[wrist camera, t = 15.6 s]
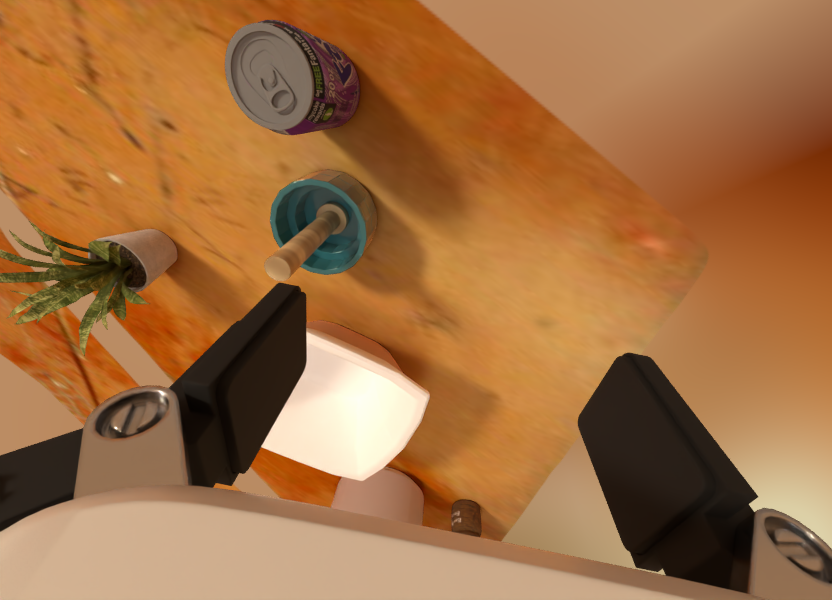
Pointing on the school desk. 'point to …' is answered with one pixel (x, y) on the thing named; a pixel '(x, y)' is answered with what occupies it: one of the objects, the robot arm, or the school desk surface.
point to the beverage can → (290, 78)
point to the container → (382, 496)
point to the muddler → (307, 241)
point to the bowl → (347, 406)
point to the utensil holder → (466, 518)
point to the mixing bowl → (300, 209)
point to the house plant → (93, 274)
